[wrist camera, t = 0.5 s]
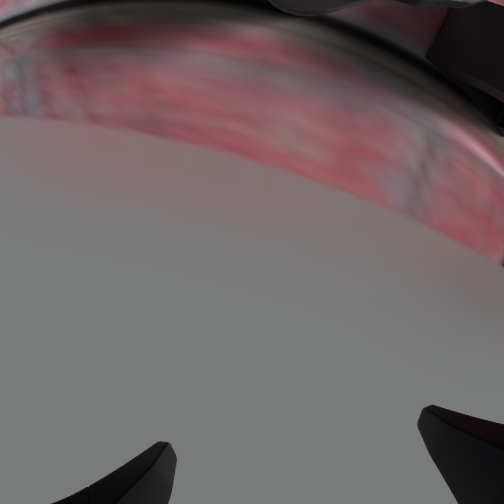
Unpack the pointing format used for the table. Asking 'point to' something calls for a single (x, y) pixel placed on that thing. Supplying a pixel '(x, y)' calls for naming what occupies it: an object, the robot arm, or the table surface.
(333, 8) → the beverage cup
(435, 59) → the phone stand
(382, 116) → the table surface
